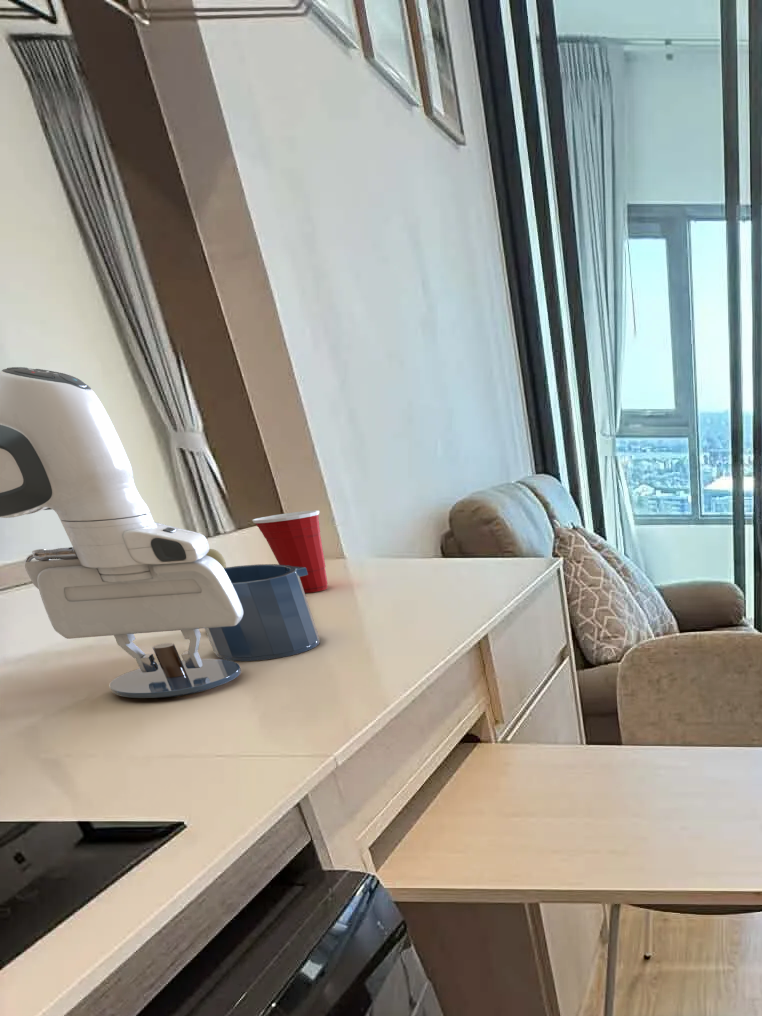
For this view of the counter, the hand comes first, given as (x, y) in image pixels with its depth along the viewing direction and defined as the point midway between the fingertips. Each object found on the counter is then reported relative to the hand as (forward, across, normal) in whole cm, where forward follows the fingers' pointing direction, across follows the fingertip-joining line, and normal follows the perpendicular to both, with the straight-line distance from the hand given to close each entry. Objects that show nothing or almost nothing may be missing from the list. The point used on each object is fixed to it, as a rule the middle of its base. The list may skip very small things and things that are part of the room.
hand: (173, 669), depth 106 cm
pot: (+2, +8, +16) cm, 18 cm away
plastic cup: (+2, +8, +56) cm, 57 cm away
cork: (+2, 0, +28) cm, 28 cm away
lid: (+1, 0, 0) cm, 1 cm away
